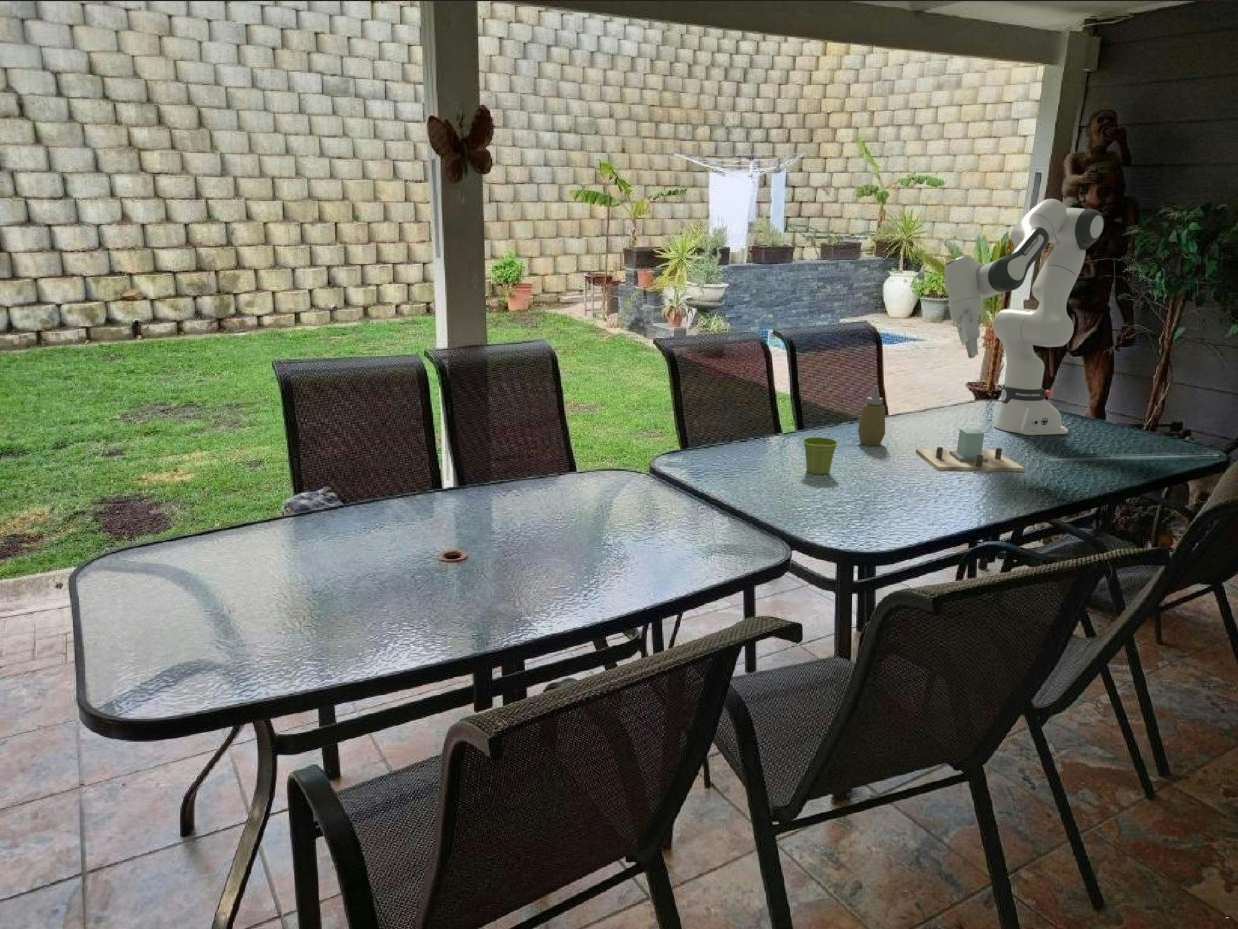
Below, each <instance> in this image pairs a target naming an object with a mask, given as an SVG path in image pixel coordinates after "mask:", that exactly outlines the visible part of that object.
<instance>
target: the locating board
mask: <svg viewBox="0 0 1238 929" xmlns="http://www.w3.org/2000/svg"><path fill="white" fill-rule="evenodd" d="M949 451H957V449H944V448H943V447H941V446H937V447H936V448H935V449H934V448H933V449H932V448H927V449H926V448H916V449H915V454H917V455H919V457H920V458H922V459H923V460H924V461H925V462H927V463H928V464H929V465H931V466H932V467H933V468H934V469H935V470H937V471H963V472H964V471H971V472H972V471H973V472H977V471H979V472H986V471H987V472H1024V471H1025V468H1024V467H1023V466H1022V465H1020V464H1019V463H1017V462H1016V461H1014V460H1013V459H1011V458H1009V457H1008V456H1006V455H1005V454H1003V453H1002V452H1003V448H1002V447H996V449H982V453H981V454H982V455H977V460H976V462H959V461H958V460H957V459H955V458H954V457H953V456H951V455H950V454H949ZM983 456H985V457H986V458H988V462H983Z"/></svg>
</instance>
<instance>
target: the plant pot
mask: <svg viewBox="0 0 1238 929" xmlns="http://www.w3.org/2000/svg"><path fill="white" fill-rule="evenodd" d="M802 443H803V447H804V449H805V450H804V451H805V462H806V465H805V466H806V471H807V472H809V473H810V474H812V475H818V476H819V475H823V474H825V475H827V474H830V472H831V467H832V462H833V459H834V457H833V456H834V454H835V450H836V447H837V446H838V445H839V442H838V441H837V440H836V439H834V438H828V437H823V436H821V437H820V436H819V437H818V436H812V437H805V438H804V439H802Z"/></svg>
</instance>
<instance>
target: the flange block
mask: <svg viewBox="0 0 1238 929" xmlns="http://www.w3.org/2000/svg"><path fill="white" fill-rule="evenodd" d="M984 437H985V433H984V432H983V431H981V430H979V429H978V428H959V433H958V440H957V447H956V450H957V451H949V454H950V455H951V456H953V457H954V458H955V459H957V460H958V461H959V462H976V460H977V455H982V454H981V453H982V450H983V445H984V439H985V438H984ZM983 462H988V458H986V457H985V456H983Z"/></svg>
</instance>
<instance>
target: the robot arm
mask: <svg viewBox="0 0 1238 929" xmlns="http://www.w3.org/2000/svg"><path fill="white" fill-rule="evenodd" d="M1104 227H1105V219H1104V217H1103V214H1102V213H1101V212H1100V211H1098V210H1096V209H1092V208H1080V207H1066V206H1065V204H1064V203H1063V202H1061V201H1060V200H1059V199H1056V198H1047V199H1044V200H1042V201H1040V202H1039V203H1037V204H1036V205H1034V206H1033V207H1032V208H1030V209H1029V211H1027V212H1026V213H1025V214H1024V215H1023V216H1022V217H1021V218H1020V219H1019V220H1018V221H1017V223H1016V224H1015V225H1014V226H1013V228H1012V230H1011V232H1010V240H1011V243H1012V245H1013V246H1014V248H1015V249H1014V251H1012V253H1010V254H1007V255H1005V256H1002V257H999V258H998V259H996V260H994V261H992V262H989V263H986V264H984V263H981V262H978V261H976V260H975V259H973V258H972V255H969V254H967V255H965V254H964V255H962V256H959V257H956V258H954V259H950V260H949V261H948V262H946V264H945V266H944V273H943V274H944V284H945V290H946V292H947V295H948V308H949V315H950V319H951V320H952V321H953V323H955V325H956V328H957V333H958V336H959V340H960V343H961V345H962V346H965V349H966V352H967V356H968V359H974V358H975V357H976V356H978V354H979V351H978V339H979V338H980V337H981V330H980V325H979V320H980V315H983V307H982V306H983V305H982V300H984V299H989V298H991V297H994V296H998V295H1001V294H1003V293H1006V292H1012V291H1015V290H1017V289H1019V288H1020V287H1021V286H1022V285H1023V284H1024V282H1025V280H1026V277H1027V274H1028V272H1029V269H1031V268H1030V267H1031V266H1032V265H1033V263H1035V261H1036V260H1037V258H1038V257H1039V256H1040V255H1041V253H1042V252H1043V250H1044V249H1045V248H1046V246H1047V245H1048V244H1053V246H1054V247H1053V249H1052V250H1051V252H1050V253H1049V255H1048V256H1047V258H1046V260H1045V261H1044V263H1043V265H1042V267H1041V268H1040V271H1039V273H1038V275H1037V276H1036V278H1035V281H1034V282H1033V284H1032V286H1031V293H1032V295H1033V297H1034V298H1035V300H1037V301H1038V302H1039V304H1038V306H1037V308H1036V309H1031V308H1030V309H1029V308H1021V307H1012V308H1003V309H1001V310H1000V311H998V313H997V314H996V315H995V317H994V319H993V322H992V330H993V333H994V335H995V336H996V337H997V338H998V340H999V341H1000V342H1001V345H1002V347H1003V349H1004V351H1005V352H1004V353H1005V357H1006V371H1005V380H1004V384H1003V385H1002V389H1001V393H1000V394H1001V395H1000V396H1001V397H1000V406H999V410H998V413H997V416H996V419H995V421H994V422H993V424H992V425H993V427H994V428H996V429H998V430H1001V431H1006V432H1011V433H1016V434H1021V435H1025V436H1040V435H1041V436H1043V435H1065V434H1069V433H1068V432H1069V430H1068V429H1067V427H1065V426H1064V425H1062V414H1061V413H1060V412H1059V410H1058V409H1057V408H1056V407H1054V405H1052V404H1051V403H1050V402H1049V401H1048V400H1047V399H1046V397H1047V398H1051V397H1052V395H1053V391H1052V390H1049V389H1044V388H1043V387H1042V386H1043V379H1044V373H1045V363H1044V361H1043V360H1042V359H1041V358H1040V357H1039V356H1038V355H1037V354H1036V353H1035V350H1034V346H1036V347H1043V348H1044V347H1045V348H1054V347H1056V348H1057V347H1058V348H1059V347H1064V346H1065V345H1066V344H1067V343H1068V342H1070V341H1071V338H1072V337H1073V334H1074V330H1075V329H1074V323H1073V321H1072V319H1071V318H1070V316H1069V315H1068V311H1067V304H1068V303H1067V302H1068V299H1069V297H1070V294H1071V292H1072V290H1073V288H1074V285H1075V284H1076V281H1077V279H1078V277H1079V275H1080V272H1081V271H1082V268H1083V266H1084V262H1085V258H1086V251H1087V250H1089V249H1090V248H1091V247H1092V246H1093V244H1094V243H1095V242H1097V241H1098V240H1099V239H1100V237H1101V235H1102V234H1103V231H1104Z"/></svg>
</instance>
